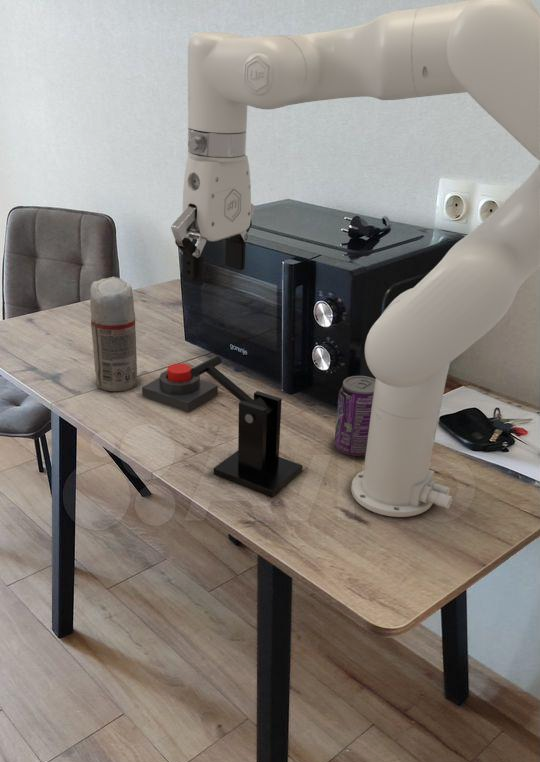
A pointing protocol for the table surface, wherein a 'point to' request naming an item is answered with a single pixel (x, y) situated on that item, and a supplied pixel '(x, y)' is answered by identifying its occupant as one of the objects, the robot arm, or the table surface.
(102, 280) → the spray can
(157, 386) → the button block
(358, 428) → the beverage can
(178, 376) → the button
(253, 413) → the bracket
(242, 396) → the lever
